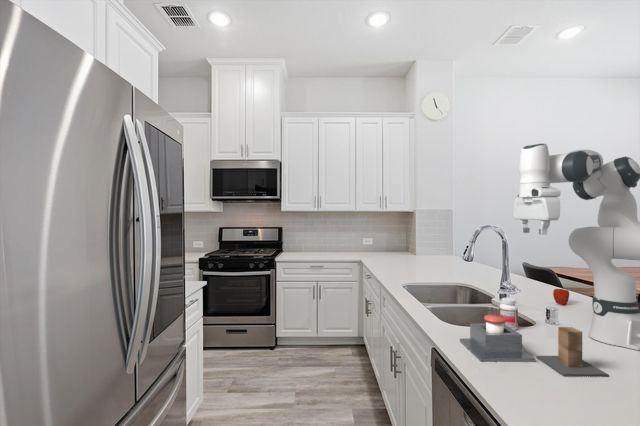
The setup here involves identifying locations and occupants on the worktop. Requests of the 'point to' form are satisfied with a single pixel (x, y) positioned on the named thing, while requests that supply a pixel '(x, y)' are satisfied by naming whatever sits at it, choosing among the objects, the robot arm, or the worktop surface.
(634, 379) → the worktop surface
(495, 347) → the box
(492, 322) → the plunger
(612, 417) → the worktop surface
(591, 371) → the mat
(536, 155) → the robot arm
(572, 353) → the stacked wooden blocks
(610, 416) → the worktop surface
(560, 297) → the apple
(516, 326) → the pill bottle
